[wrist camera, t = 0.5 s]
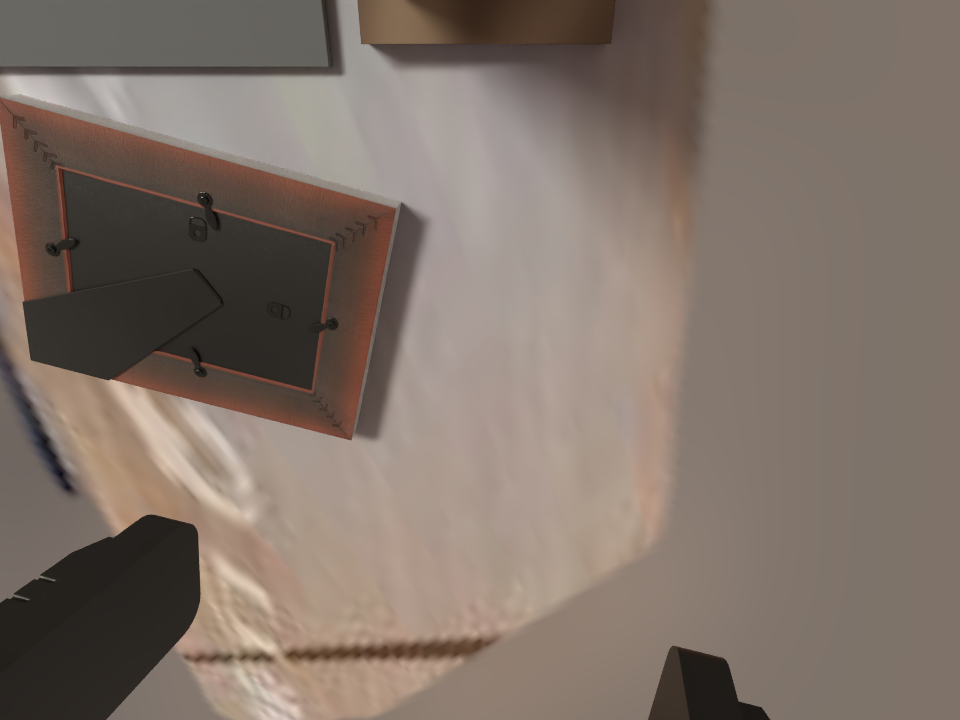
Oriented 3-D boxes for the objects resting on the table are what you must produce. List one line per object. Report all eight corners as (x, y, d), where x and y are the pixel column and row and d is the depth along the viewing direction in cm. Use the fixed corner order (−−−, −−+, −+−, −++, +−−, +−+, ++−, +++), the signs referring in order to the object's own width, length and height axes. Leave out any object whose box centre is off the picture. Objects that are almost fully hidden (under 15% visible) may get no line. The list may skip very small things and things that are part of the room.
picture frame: (57, 344, 40) (359, 421, 41) (29, 361, 38) (350, 442, 39) (29, 92, 32) (404, 199, 33) (-8, 95, 30) (395, 209, 31)
